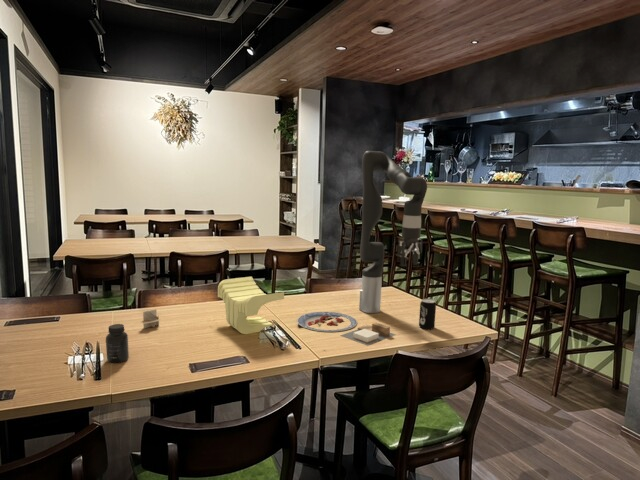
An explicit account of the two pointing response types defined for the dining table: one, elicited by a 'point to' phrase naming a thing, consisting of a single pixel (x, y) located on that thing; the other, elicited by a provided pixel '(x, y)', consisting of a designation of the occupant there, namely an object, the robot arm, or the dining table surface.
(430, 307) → the beverage can
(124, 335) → the supplement bottle
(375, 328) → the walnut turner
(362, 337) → the tile
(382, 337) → the slate board
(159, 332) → the dining table surface
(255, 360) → the dining table surface
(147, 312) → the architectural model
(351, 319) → the ceramic plate
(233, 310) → the slatted curved stool
